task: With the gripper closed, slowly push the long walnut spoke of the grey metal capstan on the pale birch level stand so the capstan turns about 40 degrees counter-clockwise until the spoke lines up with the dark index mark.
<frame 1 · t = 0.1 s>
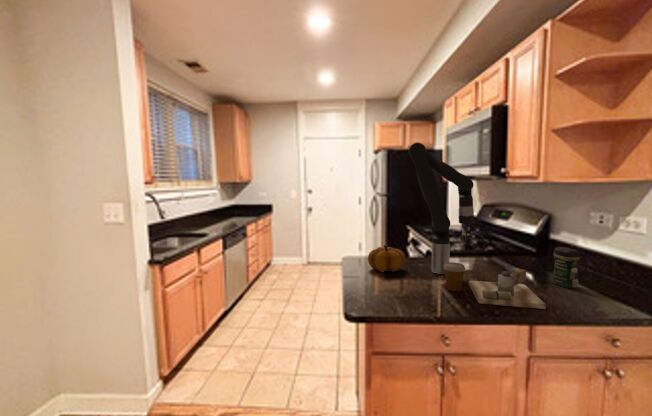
hand: (466, 243, 161), 17 cm above the worktop, tool pointing down, fingers open, 8 cm apart
level stand: (502, 295, 132), on the worktop
disposable coffee cup: (453, 289, 140), on the worktop
decorative pumpkin: (386, 270, 174), on the worktop
capstan: (513, 279, 131), point 7 cm above the worktop, hinge at -40.0°
coffee jar: (564, 285, 143), on the worktop
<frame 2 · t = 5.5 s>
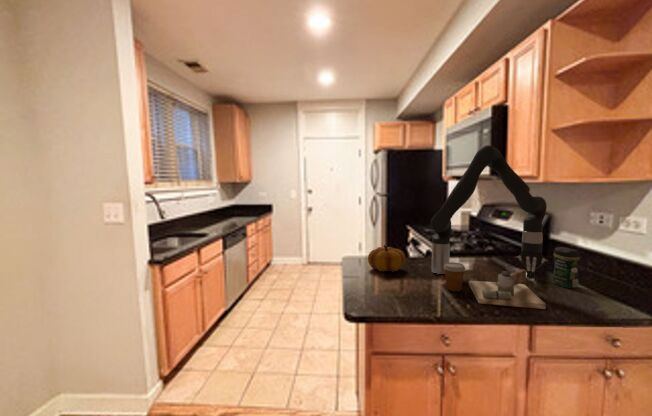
hand: (530, 279, 132), 7 cm above the worktop, tool pointing down, fingers closed
capstan: (513, 279, 131), point 7 cm above the worktop, hinge at -40.0°, touching gripper
everything else where it was.
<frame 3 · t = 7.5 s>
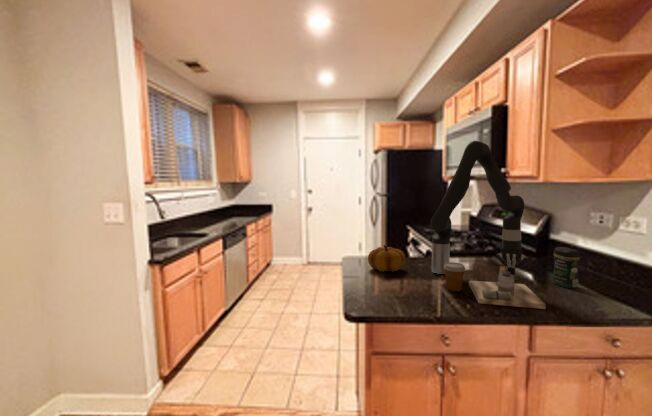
hand: (511, 275, 137), 7 cm above the worktop, tool pointing down, fingers closed
capstan: (504, 278, 133), point 7 cm above the worktop, hinge at -9.0°, touching gripper
everything else where it was.
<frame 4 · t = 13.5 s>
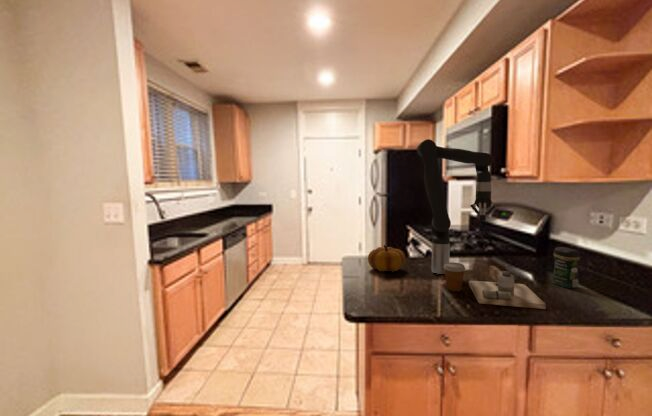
hand: (482, 221, 162), 29 cm above the worktop, tool pointing down, fingers closed
capstan: (499, 278, 134), point 7 cm above the worktop, hinge at 6.6°
everything else where it was.
at the end: capstan at +7° (first picture: -40°) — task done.
